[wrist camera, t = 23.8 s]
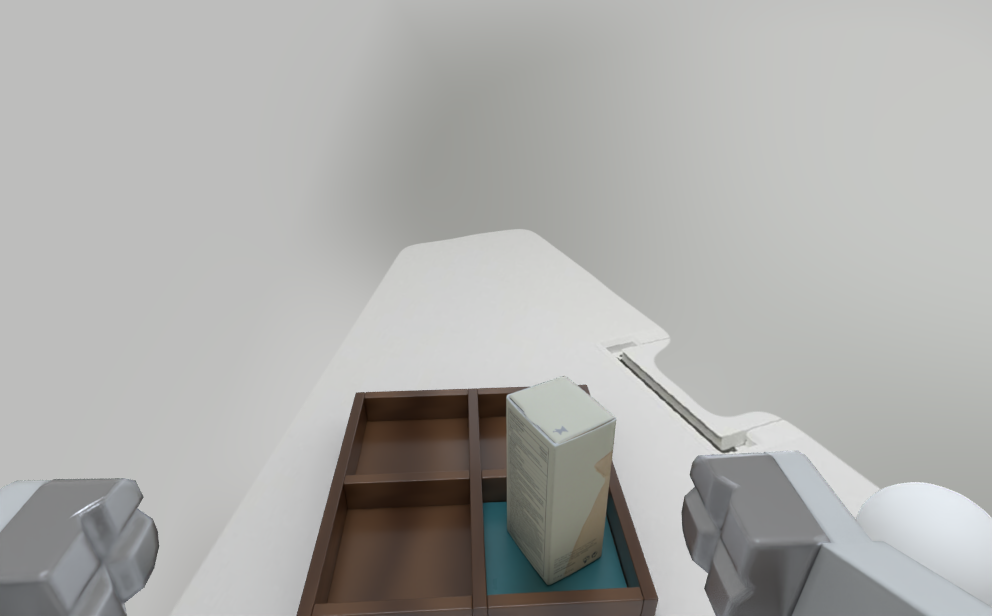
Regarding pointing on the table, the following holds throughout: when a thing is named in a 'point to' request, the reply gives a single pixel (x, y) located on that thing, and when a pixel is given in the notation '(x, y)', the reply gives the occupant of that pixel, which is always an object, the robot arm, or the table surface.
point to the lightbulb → (935, 532)
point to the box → (558, 475)
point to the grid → (449, 521)
